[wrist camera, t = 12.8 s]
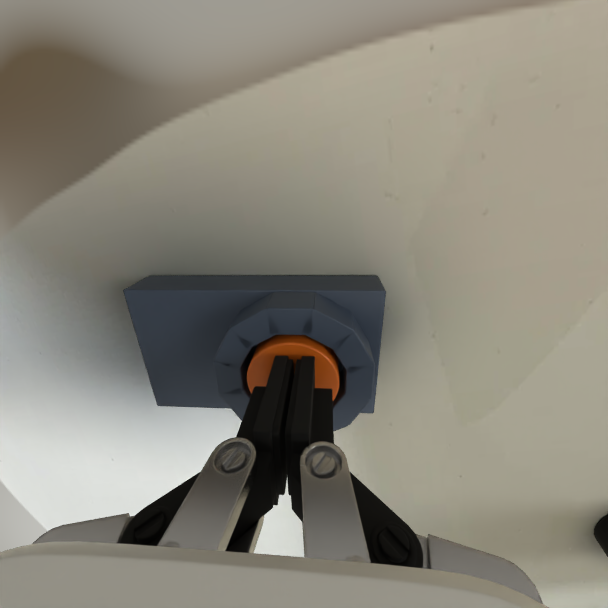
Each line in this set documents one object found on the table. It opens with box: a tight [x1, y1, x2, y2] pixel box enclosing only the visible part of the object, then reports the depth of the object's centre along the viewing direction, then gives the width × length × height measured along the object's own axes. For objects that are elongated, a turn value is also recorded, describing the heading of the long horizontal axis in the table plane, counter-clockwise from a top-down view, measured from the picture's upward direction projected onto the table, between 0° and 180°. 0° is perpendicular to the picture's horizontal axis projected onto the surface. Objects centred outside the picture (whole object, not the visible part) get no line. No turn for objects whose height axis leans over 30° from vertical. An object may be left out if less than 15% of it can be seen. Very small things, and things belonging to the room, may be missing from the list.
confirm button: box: [247, 335, 339, 400], centre depth 13 cm, size 4×4×2 cm
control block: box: [123, 276, 386, 431], centre depth 14 cm, size 12×7×4 cm, turn 91°
